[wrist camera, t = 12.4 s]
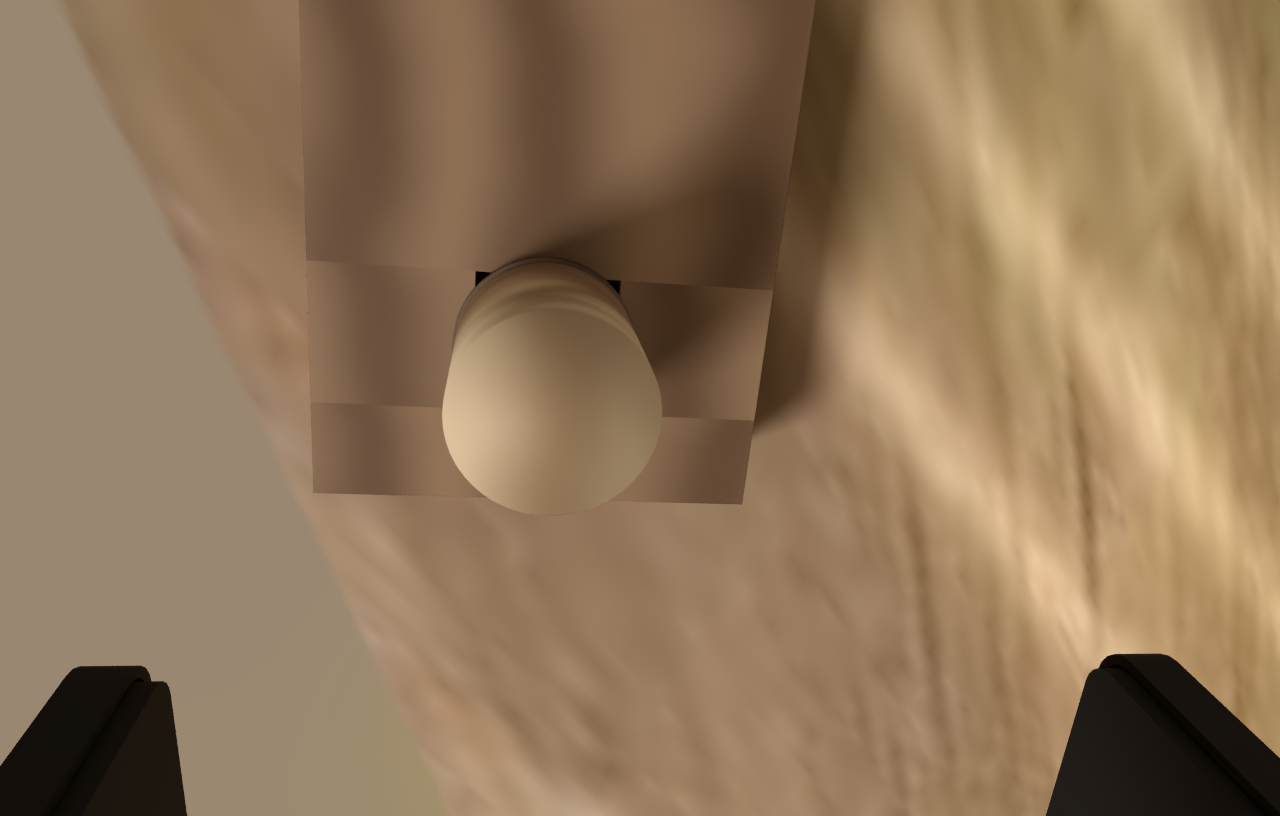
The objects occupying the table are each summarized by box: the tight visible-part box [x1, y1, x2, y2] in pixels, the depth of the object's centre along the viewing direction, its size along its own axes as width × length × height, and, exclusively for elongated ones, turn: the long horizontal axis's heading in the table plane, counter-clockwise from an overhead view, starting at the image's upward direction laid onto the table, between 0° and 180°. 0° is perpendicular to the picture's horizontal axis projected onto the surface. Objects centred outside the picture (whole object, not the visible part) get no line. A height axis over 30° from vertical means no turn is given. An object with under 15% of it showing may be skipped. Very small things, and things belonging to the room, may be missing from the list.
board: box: [299, 0, 816, 504], centre depth 33 cm, size 16×20×5 cm
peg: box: [442, 257, 662, 516], centre depth 31 cm, size 6×6×11 cm
